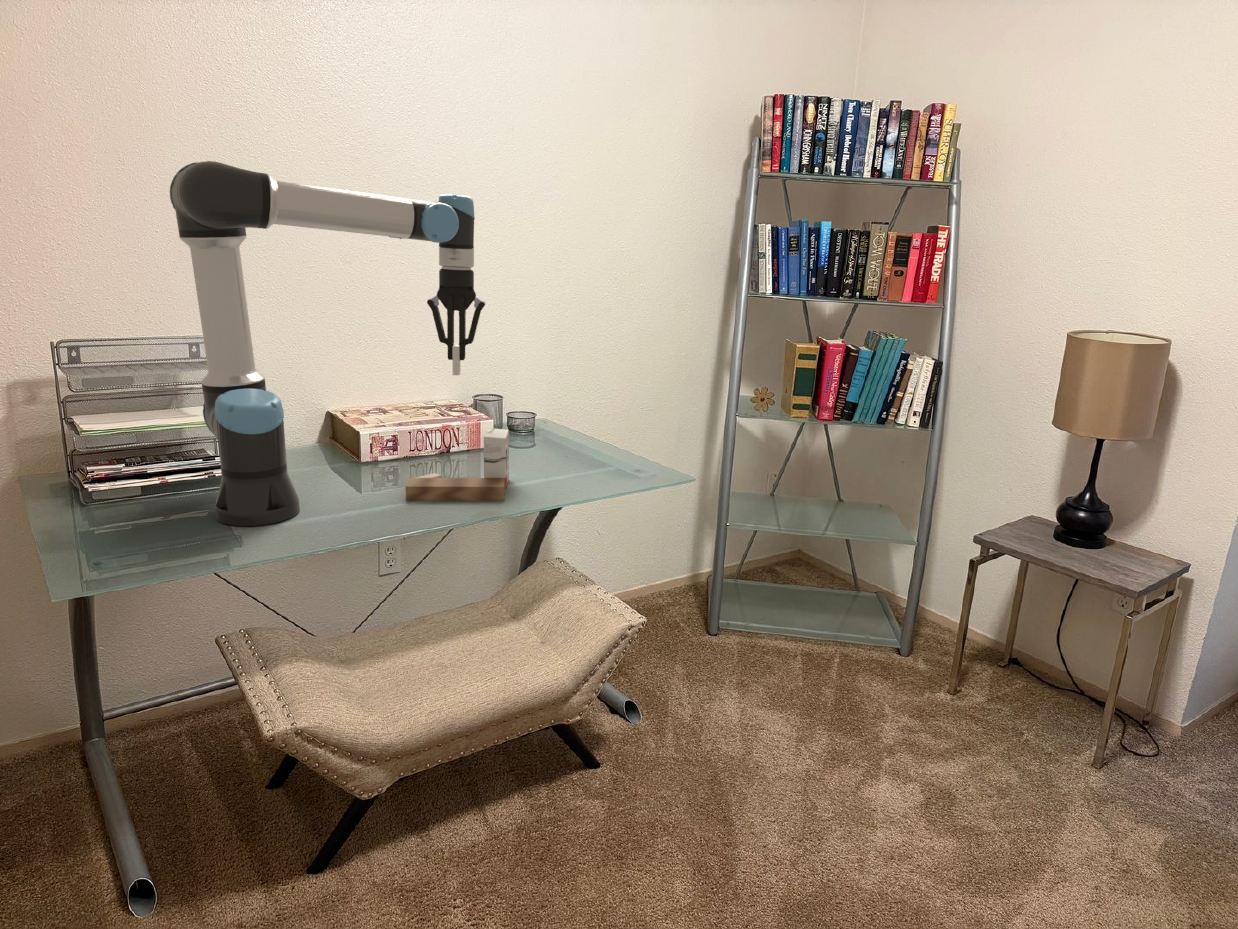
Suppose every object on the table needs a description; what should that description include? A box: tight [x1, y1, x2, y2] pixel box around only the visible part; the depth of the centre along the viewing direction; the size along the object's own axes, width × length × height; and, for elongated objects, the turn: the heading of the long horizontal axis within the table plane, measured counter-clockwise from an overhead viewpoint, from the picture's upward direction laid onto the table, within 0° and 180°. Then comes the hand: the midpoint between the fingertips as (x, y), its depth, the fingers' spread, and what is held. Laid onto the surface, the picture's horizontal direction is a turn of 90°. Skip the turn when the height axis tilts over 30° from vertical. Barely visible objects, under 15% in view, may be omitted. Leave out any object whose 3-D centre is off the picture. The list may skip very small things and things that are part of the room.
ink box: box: [483, 428, 510, 491], centre depth 189 cm, size 9×5×12 cm, turn 2°
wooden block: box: [404, 477, 506, 501], centre depth 182 cm, size 20×6×3 cm, turn 96°
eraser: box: [415, 472, 442, 478], centre depth 189 cm, size 6×2×2 cm, turn 139°
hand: (456, 374), depth 197 cm, fingers closed
